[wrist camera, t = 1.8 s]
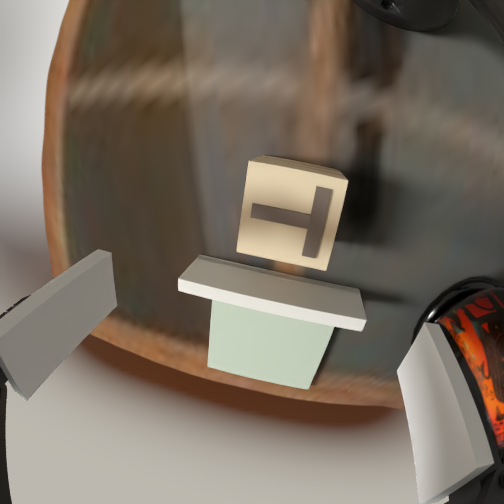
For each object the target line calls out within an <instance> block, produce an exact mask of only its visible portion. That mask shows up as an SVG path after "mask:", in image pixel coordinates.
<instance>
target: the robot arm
mask: <svg viewBox="0 0 504 504" xmlns="http://www.w3.org/2000/svg"><path fill="white" fill-rule="evenodd" d="M353 1H354V2H355V3H356V4H357V5H358V6H360V7H361V8H362V9H364V10H365V11H367V12H368V13H370V14H371V15H373V16H375V17H377V18H378V19H380V20H382V21H385V22H387V23H389V24H392V25H394V26H397V27H400V28H404V29H409V30H414V31H431V30H435V29H438V28H441V27H442V26H444V25H445V24H447V23H448V22H449V21H451V20H452V19H453V18H454V17H455V15H456V14H457V12H458V9H459V5H460V0H353ZM469 1H470V2H471V3H472V4H473V5H474V6H475V8H476V9H477V10H478V11H479V13H480V14H481V15H482V16H483V18H484V19H485V20H486V22H487V23H488V24H489V26H490V27H491V28H492V30H493V31H494V32H495V34H496V35H497V37H498V38H499V40H500V41H501V43H502V44H503V46H504V0H469ZM116 306H117V302H116V295H115V286H114V277H113V267H112V255H111V253H110V252H106V251H103V250H99V249H98V250H96V251H95V252H93V253H92V254H90V255H88V256H87V257H85V258H84V259H82V260H81V261H79V262H78V263H76V264H75V265H73V266H72V267H70V268H69V269H67V270H66V271H64V272H63V273H61V274H60V275H59V276H57V277H56V278H54V279H53V280H51V281H50V282H49V283H47V284H46V285H44V286H43V287H42V288H40V289H39V290H37V291H36V292H35V293H33V294H32V295H29V296H27V297H24V298H22V299H21V300H20V301H18V302H17V303H16V304H14V305H13V307H10V308H9V309H8V310H7V311H6V313H5V312H4V313H3V314H1V315H0V504H12V501H11V496H10V489H9V482H8V472H7V461H6V439H5V420H6V399H7V387H6V385H5V383H6V382H7V381H9V382H10V384H11V386H12V387H13V389H14V391H15V392H17V393H18V394H19V395H20V396H21V397H23V398H24V399H25V400H26V401H27V400H28V399H29V398H30V397H31V396H32V394H33V393H34V392H35V391H36V390H37V389H38V388H39V387H40V385H41V384H42V383H43V382H44V381H45V380H46V379H47V378H48V377H49V375H50V374H51V373H52V372H53V371H54V370H55V369H56V368H57V367H58V366H59V365H60V363H61V362H62V361H63V360H64V359H65V358H66V357H67V356H68V355H69V354H70V353H71V352H72V351H73V350H74V349H75V347H77V346H78V344H79V343H80V342H81V341H82V340H83V339H84V338H85V337H86V336H87V335H88V334H89V333H90V332H91V331H92V330H93V329H94V328H95V327H96V326H97V325H98V324H99V323H100V322H101V321H102V320H103V319H104V318H105V317H106V316H107V315H108V314H109V313H110V312H111V311H112V310H113V309H114V308H115V307H116ZM397 374H398V378H399V382H400V386H401V390H402V395H403V399H404V404H405V409H406V414H407V419H408V424H409V430H410V435H411V441H412V447H413V454H414V461H415V469H416V477H417V487H418V499H419V504H431V503H435V502H438V501H440V500H441V499H443V498H445V497H446V496H448V495H449V501H448V502H446V503H444V504H504V464H502V462H501V460H500V456H499V452H498V449H497V446H496V443H495V439H494V436H493V433H492V430H490V424H489V422H488V421H487V416H486V413H485V411H484V408H483V406H482V405H481V404H480V402H479V401H478V400H477V398H476V397H472V395H471V392H470V390H469V387H468V385H467V382H466V380H465V378H464V375H463V373H462V371H461V369H460V367H459V364H458V362H457V360H456V358H455V356H454V354H453V352H452V349H451V347H450V345H449V343H448V341H447V339H446V337H445V335H444V333H443V331H442V330H441V328H440V326H439V324H433V323H426V322H424V324H423V326H422V328H421V330H420V332H419V334H418V335H417V337H416V339H415V341H414V343H413V344H412V346H411V348H410V350H409V351H408V353H407V355H406V357H405V358H404V360H403V362H402V363H401V365H400V366H399V368H398V370H397Z"/></svg>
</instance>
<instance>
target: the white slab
mask: <svg viewBox="0 0 504 504" xmlns="http://www.w3.org/2000/svg"><path fill="white" fill-rule="evenodd" d="M178 291H182V292H186V293H189V294H193V295H197V296H201V297H205V298H208V299H212V300H216V301H220V302H224V303H228V304H232V305H237V306H241V307H245V308H249V309H253V310H258V311H262V312H267V313H271V314H275V315H280V316H285V317H289V318H294V319H299V320H304V321H309V322H314V323H319V324H324V325H329V326H334V327H340V328H345V329H351V330H356V331H362V330H363V327H364V325H365V323H366V316H365V311H364V307H363V303H362V299H361V295H360V291H359V289H357V288H352V287H347V286H343V285H338V284H333V283H328V282H323V281H319V280H314V279H309V278H305V277H300V276H295V275H291V274H286V273H281V272H277V271H272V270H268V269H263V268H258V267H254V266H249V265H245V264H240V263H236V262H231V261H227V260H222V259H218V258H213V257H209V256H205V255H199V256H198V257H197V258H196V259H195V260H194V262H193V263H192V264H191V265H190V266H189V267H188V268H187V269H186V271H185V272H184V273H183V274H182V275H181V276H180V277H179V278H178Z"/></svg>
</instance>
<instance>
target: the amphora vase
mask: <svg viewBox="0 0 504 504" xmlns="http://www.w3.org/2000/svg"><path fill="white" fill-rule="evenodd" d="M424 322H426V323H433V324H439V326H440V328H441V330H442V331H443V333H444V335H445V337H446V339H447V341H448V343H449V345H450V347H451V349H452V352H453V354H454V356H455V358H456V360H457V362H458V364H459V367H460V369H461V371H462V373H463V375H464V378H465V380H466V382H467V385H468V387H469V390H470V392H471V395H472V397H476V398H477V400H478V401H479V402H480V404H481V405H482V406H483V408H484V411H485V413H486V416H487V421H488V422H489V424H490V430H492V433H493V436H494V439H495V443H496V446H497V449H498V452H499V456H500V460H501V462H502V464H504V287H498V286H496V285H495V284H494V283H493V282H491V281H490V280H486V279H481V278H477V279H468V280H465V281H463V282H460V283H458V284H455V285H453V286H452V287H450V288H449V289H447V290H446V291H444V292H443V293H441V294H440V295H439V296H438V297H437V298H436V299H435V300H434V301H433V302H432V303H431V304H430V305H429V306H428V307H427V309H426V310H425V311H424V313H423V314H422V315H421V317H420V319H419V321H418V323H417V325H416V327H415V329H414V332H413V337H412V341H411V345H412V344H413V343H414V341H415V339H416V337H417V335H418V334H419V332H420V330H421V328H422V326H423V324H424Z"/></svg>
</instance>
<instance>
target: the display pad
mask: <svg viewBox="0 0 504 504" xmlns="http://www.w3.org/2000/svg"><path fill="white" fill-rule="evenodd" d="M333 329H334V326H329V325H324V324H319V323H314V322H309V321H304V320H299V319H294V318H289V317H285V316H280V315H275V314H271V313H267V312H262V311H258V310H253V309H249V308H245V307H241V306H237V305H232V304H228V303H224V302H220V301H216V300H212V312H211V324H210V338H209V353H208V367H211V368H215V369H218V370H222V371H226V372H230V373H233V374H237V375H241V376H245V377H249V378H254V379H258V380H262V381H267V382H272V383H276V384H281V385H286V386H291V387H297V388H302V389H308V388H309V386H310V384H311V382H312V380H313V377H314V375H315V373H316V371H317V368H318V366H319V364H320V361H321V359H322V357H323V354H324V352H325V349H326V347H327V345H328V342H329V340H330V337H331V335H332V332H333Z"/></svg>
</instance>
